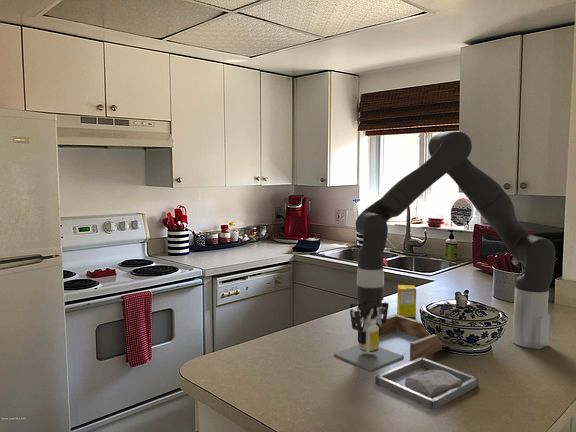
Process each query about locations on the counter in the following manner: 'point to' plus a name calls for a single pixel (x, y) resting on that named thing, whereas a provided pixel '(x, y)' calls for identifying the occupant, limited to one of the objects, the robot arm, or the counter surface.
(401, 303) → the supplement box
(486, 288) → the counter surface
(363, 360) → the mat
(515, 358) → the counter surface
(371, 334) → the supplement bottle
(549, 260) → the robot arm
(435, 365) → the metal tray
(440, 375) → the stone block
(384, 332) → the open wooden tray
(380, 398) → the counter surface
